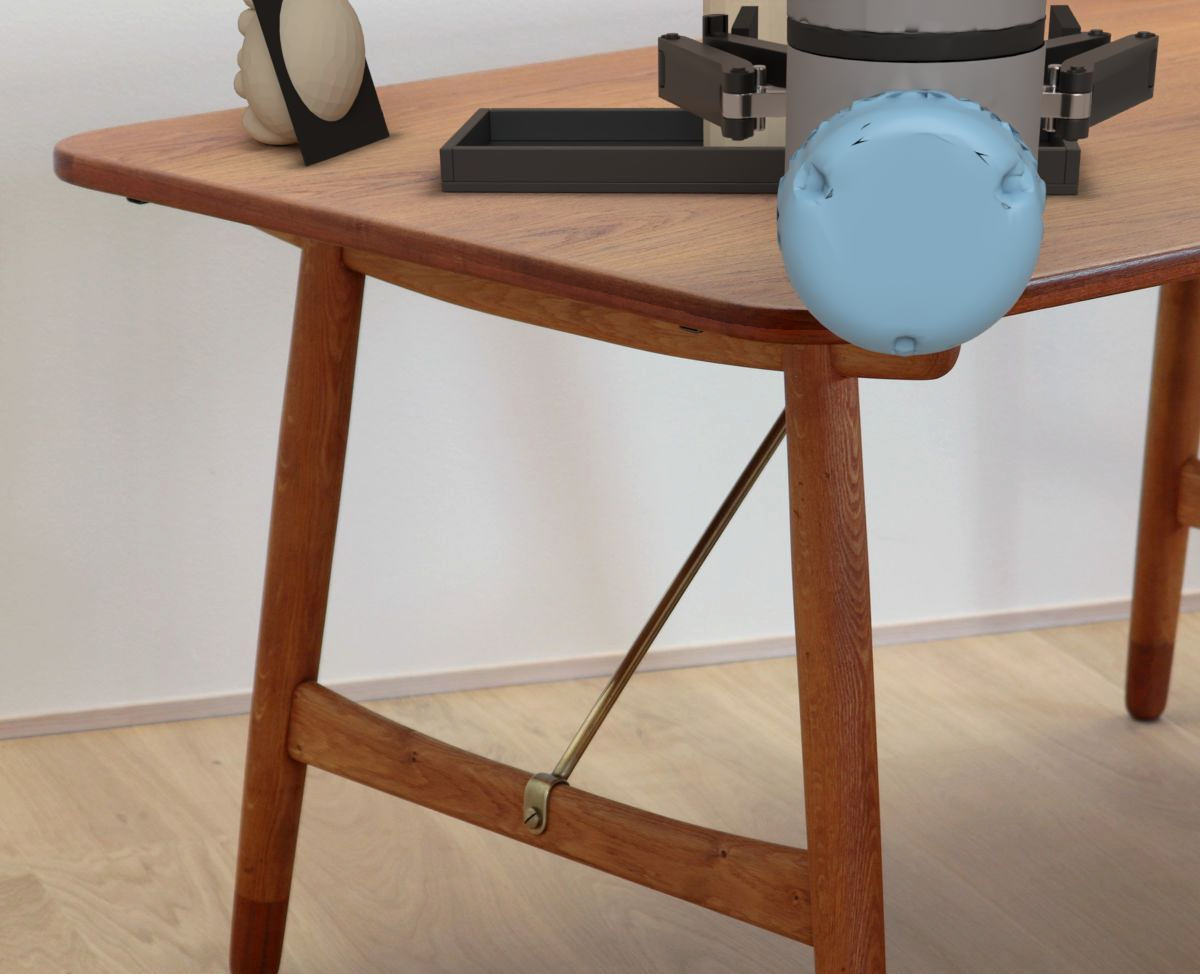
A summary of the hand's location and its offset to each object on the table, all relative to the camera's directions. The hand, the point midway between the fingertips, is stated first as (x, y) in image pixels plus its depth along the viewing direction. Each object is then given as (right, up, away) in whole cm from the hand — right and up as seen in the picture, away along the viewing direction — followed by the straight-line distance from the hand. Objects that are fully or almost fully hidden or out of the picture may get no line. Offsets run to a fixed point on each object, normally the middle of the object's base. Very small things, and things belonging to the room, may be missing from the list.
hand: (901, 36), depth 86 cm
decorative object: (-34, +5, +43) cm, 55 cm away
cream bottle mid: (-4, +2, +33) cm, 34 cm away
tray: (-4, +2, +33) cm, 34 cm away
